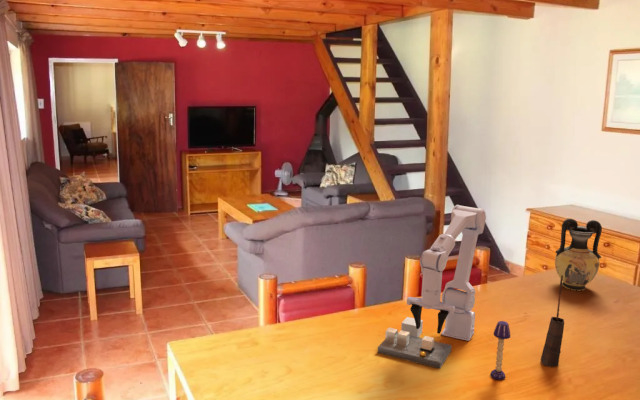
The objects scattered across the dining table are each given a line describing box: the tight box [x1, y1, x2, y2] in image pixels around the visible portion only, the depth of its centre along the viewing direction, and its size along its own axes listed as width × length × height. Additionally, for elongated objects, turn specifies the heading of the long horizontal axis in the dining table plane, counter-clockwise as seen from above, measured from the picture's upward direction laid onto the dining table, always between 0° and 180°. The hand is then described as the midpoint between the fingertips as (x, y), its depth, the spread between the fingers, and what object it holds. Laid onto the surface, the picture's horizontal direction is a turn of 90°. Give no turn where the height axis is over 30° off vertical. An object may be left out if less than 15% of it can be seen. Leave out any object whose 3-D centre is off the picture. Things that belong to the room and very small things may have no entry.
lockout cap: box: [401, 316, 424, 338], centre depth 187 cm, size 6×6×4 cm
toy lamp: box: [489, 320, 511, 381], centre depth 160 cm, size 5×5×17 cm
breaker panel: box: [377, 327, 453, 370], centre depth 174 cm, size 20×13×6 cm, turn 62°
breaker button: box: [421, 335, 435, 350], centre depth 172 cm, size 3×3×3 cm
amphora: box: [554, 218, 603, 292], centre depth 232 cm, size 18×17×30 cm
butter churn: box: [540, 275, 565, 368], centre depth 166 cm, size 9×10×28 cm
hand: (428, 330), depth 171 cm, fingers open, 6 cm apart
